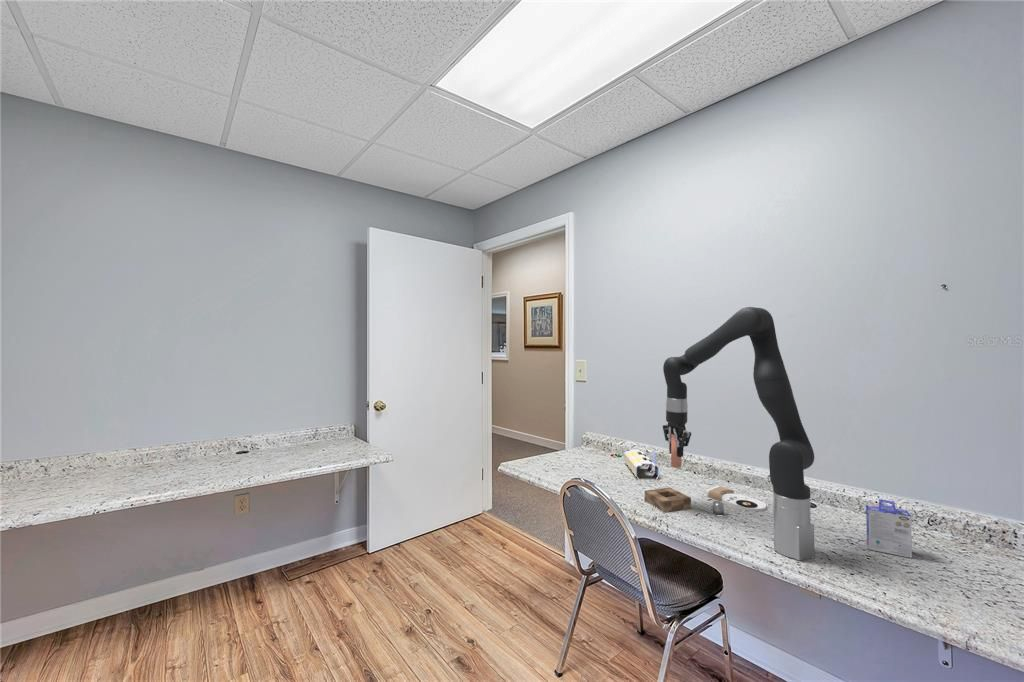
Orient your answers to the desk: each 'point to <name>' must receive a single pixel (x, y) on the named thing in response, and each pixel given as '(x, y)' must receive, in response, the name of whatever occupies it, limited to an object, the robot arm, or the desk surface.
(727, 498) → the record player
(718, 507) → the short pin
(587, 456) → the desk surface
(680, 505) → the hole block
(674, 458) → the long pin
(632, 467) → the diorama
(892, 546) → the ink cartridge box
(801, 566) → the desk surface
